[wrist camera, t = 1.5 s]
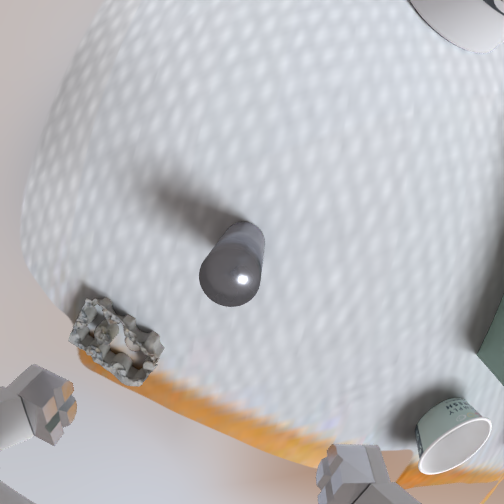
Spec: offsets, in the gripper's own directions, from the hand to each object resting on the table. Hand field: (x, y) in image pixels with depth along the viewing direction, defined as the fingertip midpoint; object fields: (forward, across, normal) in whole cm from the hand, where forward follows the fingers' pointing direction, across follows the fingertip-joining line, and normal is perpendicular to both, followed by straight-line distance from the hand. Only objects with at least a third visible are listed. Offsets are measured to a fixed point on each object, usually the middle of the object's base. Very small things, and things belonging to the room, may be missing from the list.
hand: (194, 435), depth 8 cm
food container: (+23, -33, +20) cm, 45 cm away
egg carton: (+24, +13, +14) cm, 30 cm away
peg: (+23, +1, -1) cm, 23 cm away
